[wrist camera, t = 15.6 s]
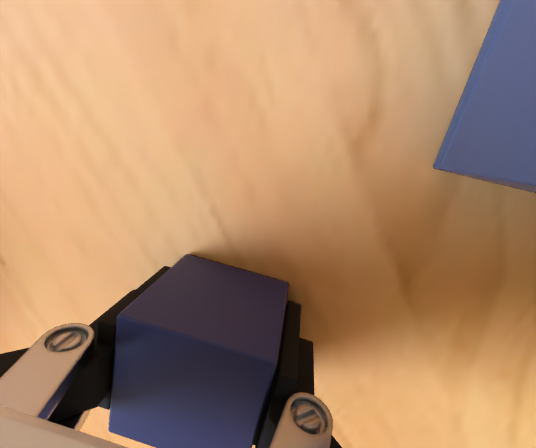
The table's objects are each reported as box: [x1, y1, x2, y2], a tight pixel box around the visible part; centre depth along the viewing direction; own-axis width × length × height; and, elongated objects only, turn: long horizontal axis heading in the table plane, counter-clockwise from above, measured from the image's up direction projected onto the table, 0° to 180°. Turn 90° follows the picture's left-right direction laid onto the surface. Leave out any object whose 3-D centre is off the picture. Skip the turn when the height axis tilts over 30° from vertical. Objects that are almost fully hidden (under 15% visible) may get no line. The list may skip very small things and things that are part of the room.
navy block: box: [109, 254, 289, 448], centre depth 10 cm, size 4×4×4 cm
